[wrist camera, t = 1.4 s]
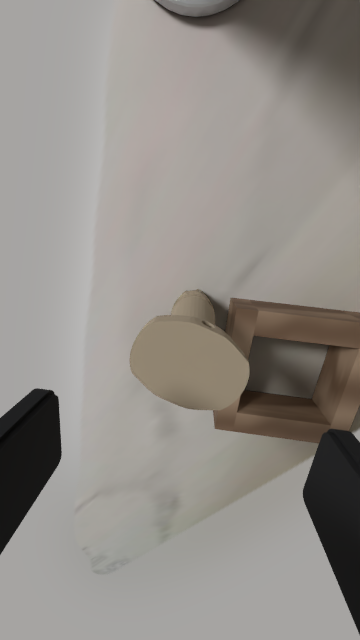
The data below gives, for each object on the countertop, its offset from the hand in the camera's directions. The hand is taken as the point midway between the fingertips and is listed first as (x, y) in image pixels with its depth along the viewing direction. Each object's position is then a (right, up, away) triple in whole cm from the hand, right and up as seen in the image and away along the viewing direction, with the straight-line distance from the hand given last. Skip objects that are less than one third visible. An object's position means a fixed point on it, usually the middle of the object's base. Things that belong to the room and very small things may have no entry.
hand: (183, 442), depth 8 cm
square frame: (+12, -1, +20) cm, 23 cm away
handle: (+1, +6, +19) cm, 20 cm away
